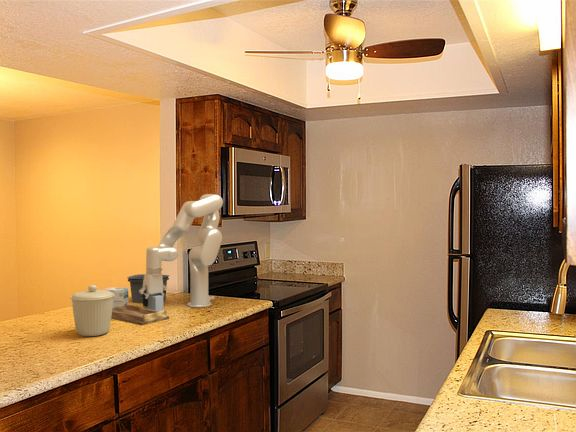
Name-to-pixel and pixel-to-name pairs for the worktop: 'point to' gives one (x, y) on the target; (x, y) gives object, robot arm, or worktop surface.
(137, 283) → the storage bin
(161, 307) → the panel block
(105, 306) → the canister
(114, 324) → the worktop surface
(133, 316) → the board
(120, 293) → the light bulb box
